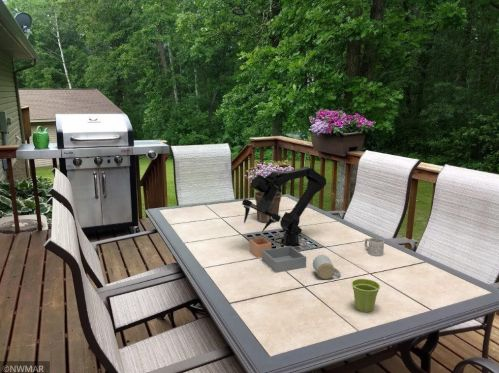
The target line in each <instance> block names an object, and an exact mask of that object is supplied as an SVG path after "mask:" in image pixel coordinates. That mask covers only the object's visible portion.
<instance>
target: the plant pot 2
mask: <svg viewBox="0 0 499 373" xmlns="http://www.w3.org/2000/svg"><path fill="white" fill-rule="evenodd" d="M351 286H352V290H353V297H354V307H355V309H356V310H357V311H361V312H363V313H370V312H372V311H374V308H375V305H376V304H375V303H376V300H377V295H378V292H379V290H380V289H381V284H380V283H378V282H377V281H375V280H373V279H370V278H355V279H353V280H352V281H351Z"/></svg>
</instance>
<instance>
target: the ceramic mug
mask: <svg viewBox="0 0 499 373" xmlns="http://www.w3.org/2000/svg"><path fill="white" fill-rule="evenodd" d="M312 267H313V269H314V271H315V273H316V275H317V276H318V277H319V278H320V279H322V280H329V279H330V278H332V277H335V278H339V277H340V276H341V273H342V272H341V271H340V270H339V269H337V268H336V267H335V266H334V264H333V262H332V260H331V259H330V257H328V256H327V255H325V254H319V255H317V256H315V257H314V259H313V261H312Z"/></svg>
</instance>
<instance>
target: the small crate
mask: <svg viewBox="0 0 499 373" xmlns="http://www.w3.org/2000/svg"><path fill="white" fill-rule="evenodd" d="M268 249H272V242H270V241H269V240H268V239H266V238H265V237H256V238H250V239H249V252H250V253H251V254H252V255H253V256H254V257H255V258H257V259H258V258H262V250H268Z"/></svg>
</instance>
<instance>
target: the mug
mask: <svg viewBox="0 0 499 373" xmlns="http://www.w3.org/2000/svg"><path fill="white" fill-rule="evenodd" d="M364 248H366V250H368V251H367V253H368V255H370V256H372V257H382V256H384V249H385V240H384V239H383V238H381V237H380V238H379V237H371V238H365V240H364Z"/></svg>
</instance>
